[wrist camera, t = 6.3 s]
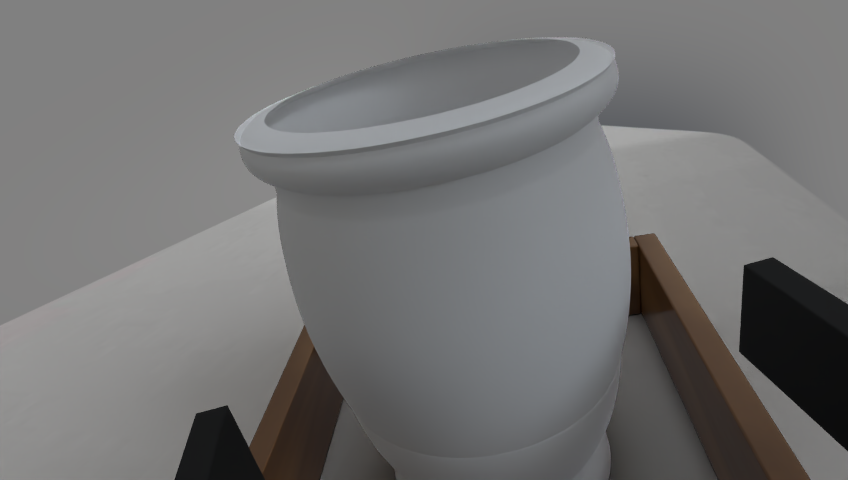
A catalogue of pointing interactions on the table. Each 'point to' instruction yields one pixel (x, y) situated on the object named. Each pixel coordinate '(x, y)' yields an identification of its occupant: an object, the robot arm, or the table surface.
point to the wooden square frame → (650, 294)
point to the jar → (460, 253)
